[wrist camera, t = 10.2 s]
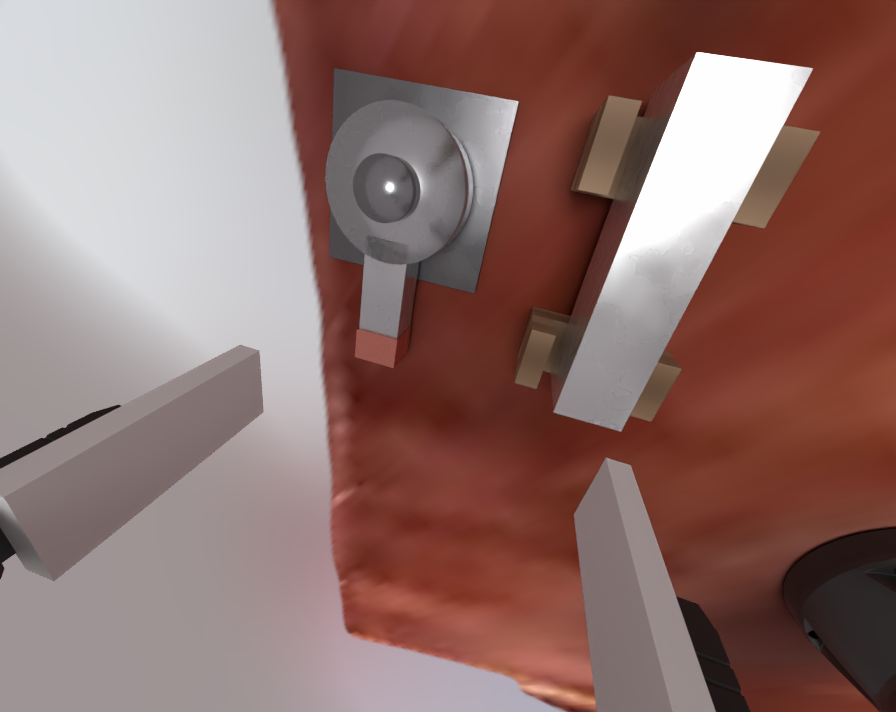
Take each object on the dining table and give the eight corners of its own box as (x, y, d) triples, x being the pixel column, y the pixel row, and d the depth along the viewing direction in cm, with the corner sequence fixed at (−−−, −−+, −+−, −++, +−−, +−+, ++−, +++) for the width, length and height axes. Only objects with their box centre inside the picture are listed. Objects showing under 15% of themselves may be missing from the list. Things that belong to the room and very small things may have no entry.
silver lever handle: (352, 99, 22) (310, 78, 18) (487, 125, 21) (475, 109, 17) (341, 332, 30) (310, 354, 26) (440, 360, 29) (424, 388, 25)
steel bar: (604, 385, 25) (620, 431, 20) (550, 370, 26) (553, 412, 21) (735, 103, 17) (813, 68, 12) (653, 90, 18) (696, 52, 13)
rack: (632, 383, 27) (651, 421, 22) (518, 352, 28) (514, 383, 23) (755, 146, 19) (820, 131, 15) (593, 116, 20) (608, 95, 16)
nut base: (475, 291, 26) (474, 293, 26) (332, 255, 28) (329, 256, 27) (519, 103, 21) (518, 101, 20) (338, 70, 22) (334, 68, 22)
